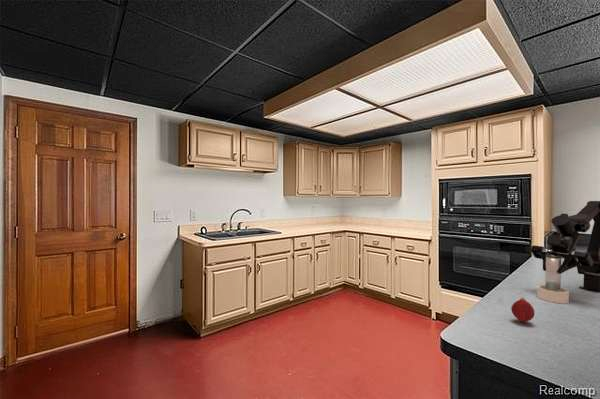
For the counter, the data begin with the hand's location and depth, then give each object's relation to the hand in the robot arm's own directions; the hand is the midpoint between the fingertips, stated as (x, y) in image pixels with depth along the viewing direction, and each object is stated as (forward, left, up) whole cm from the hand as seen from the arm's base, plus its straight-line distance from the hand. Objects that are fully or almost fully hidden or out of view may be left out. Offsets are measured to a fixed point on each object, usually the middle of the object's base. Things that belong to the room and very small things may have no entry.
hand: (551, 271), depth 114 cm
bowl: (-1, 0, -11) cm, 11 cm away
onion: (+33, +12, -11) cm, 37 cm away
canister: (-1, 0, -7) cm, 7 cm away
